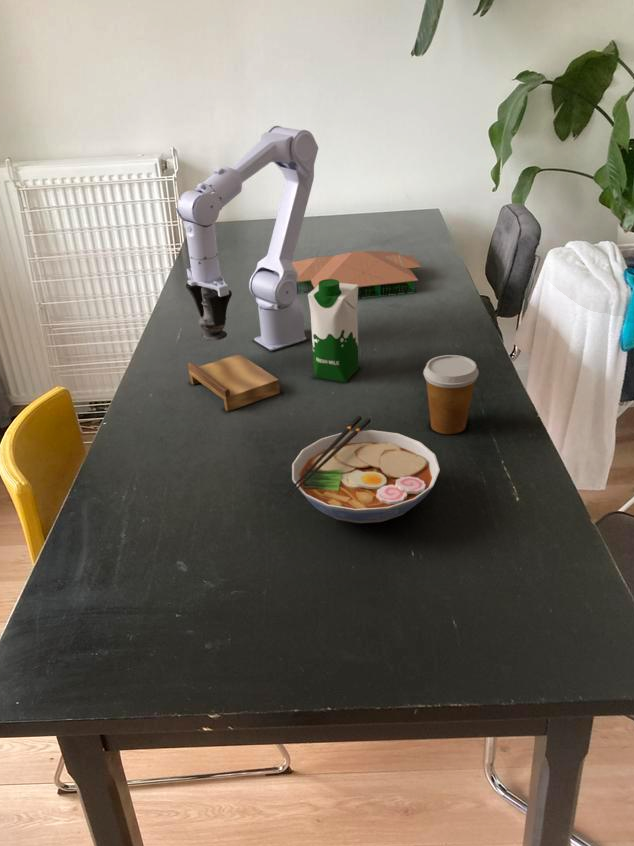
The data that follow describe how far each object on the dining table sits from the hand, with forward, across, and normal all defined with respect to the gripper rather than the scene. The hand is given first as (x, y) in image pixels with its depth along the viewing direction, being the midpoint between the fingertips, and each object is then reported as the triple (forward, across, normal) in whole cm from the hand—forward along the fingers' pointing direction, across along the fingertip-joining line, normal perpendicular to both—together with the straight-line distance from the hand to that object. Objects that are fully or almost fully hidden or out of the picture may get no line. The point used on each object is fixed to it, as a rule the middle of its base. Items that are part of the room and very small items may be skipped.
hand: (212, 320), depth 168 cm
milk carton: (+11, +19, +18) cm, 28 cm away
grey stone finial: (+4, 0, 0) cm, 4 cm away
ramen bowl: (+11, +62, -6) cm, 63 cm away
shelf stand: (+10, +12, -2) cm, 16 cm away
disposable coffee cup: (+11, +50, +21) cm, 55 cm away
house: (+10, -21, +51) cm, 56 cm away
